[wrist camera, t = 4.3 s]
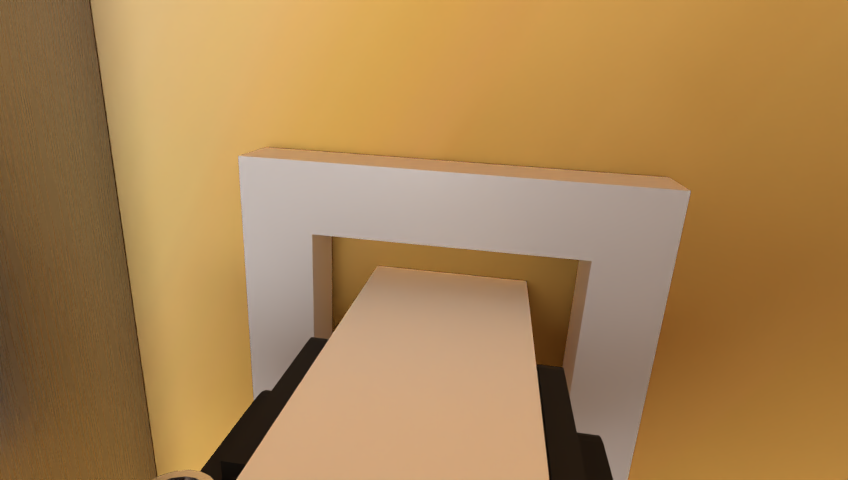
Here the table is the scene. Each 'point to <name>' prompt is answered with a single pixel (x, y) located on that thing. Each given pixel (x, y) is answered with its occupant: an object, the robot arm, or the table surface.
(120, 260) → the port block
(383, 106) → the table surface
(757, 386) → the table surface
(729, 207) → the table surface
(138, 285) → the table surface
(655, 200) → the white square frame
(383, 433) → the plug
